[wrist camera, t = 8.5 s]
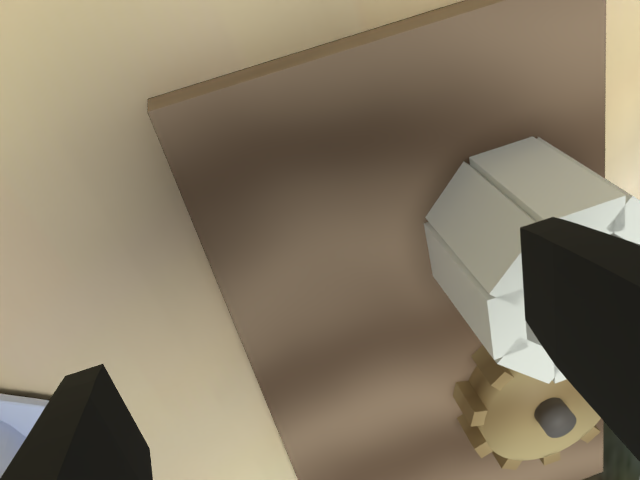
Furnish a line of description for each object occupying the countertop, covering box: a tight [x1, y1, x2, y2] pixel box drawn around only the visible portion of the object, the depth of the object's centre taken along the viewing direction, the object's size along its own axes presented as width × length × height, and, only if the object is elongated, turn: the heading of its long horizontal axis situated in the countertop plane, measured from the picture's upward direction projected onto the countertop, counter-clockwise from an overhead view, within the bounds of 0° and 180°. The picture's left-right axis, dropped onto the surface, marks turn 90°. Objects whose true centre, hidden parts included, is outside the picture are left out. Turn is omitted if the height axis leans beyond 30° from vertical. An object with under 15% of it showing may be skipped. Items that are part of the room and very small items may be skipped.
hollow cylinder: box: [424, 136, 640, 384], centre depth 18 cm, size 6×6×4 cm
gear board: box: [147, 0, 606, 480], centre depth 21 cm, size 22×13×4 cm, turn 14°
